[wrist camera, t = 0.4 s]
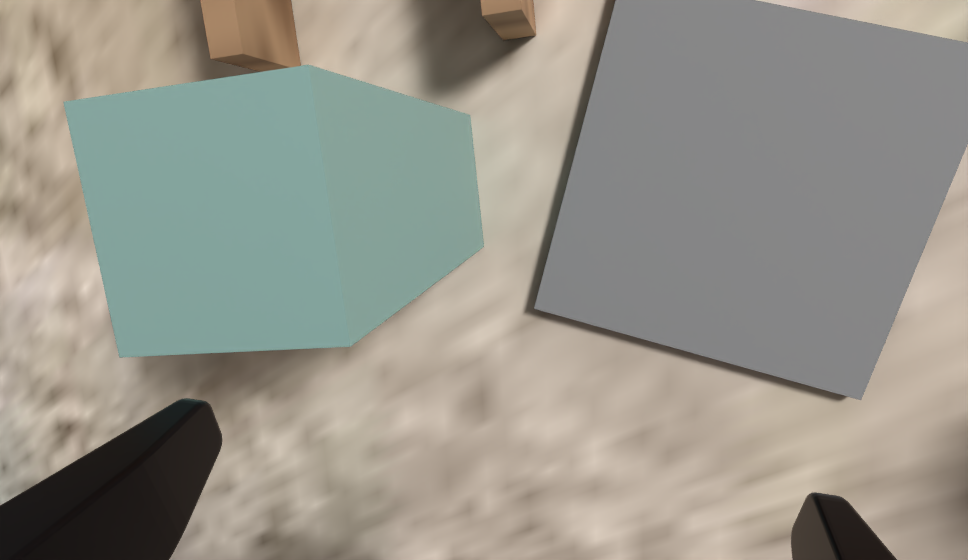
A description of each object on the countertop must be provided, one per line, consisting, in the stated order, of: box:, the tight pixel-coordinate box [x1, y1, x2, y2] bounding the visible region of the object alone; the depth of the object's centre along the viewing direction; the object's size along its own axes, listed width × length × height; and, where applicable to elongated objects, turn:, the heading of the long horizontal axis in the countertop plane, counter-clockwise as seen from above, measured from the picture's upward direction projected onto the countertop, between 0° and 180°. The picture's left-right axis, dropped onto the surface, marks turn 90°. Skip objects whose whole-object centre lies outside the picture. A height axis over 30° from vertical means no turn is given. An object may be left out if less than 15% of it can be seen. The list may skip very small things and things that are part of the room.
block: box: [64, 65, 484, 357], centre depth 18 cm, size 5×5×13 cm
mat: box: [534, 0, 968, 400], centre depth 21 cm, size 12×12×1 cm
